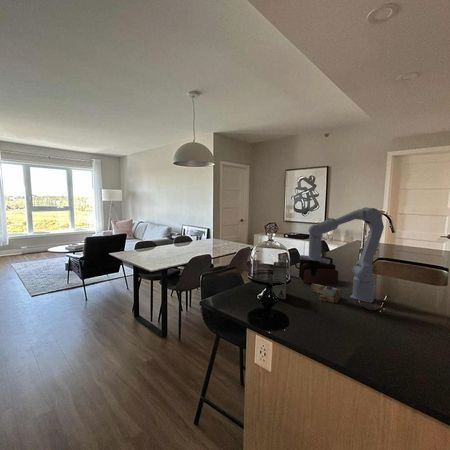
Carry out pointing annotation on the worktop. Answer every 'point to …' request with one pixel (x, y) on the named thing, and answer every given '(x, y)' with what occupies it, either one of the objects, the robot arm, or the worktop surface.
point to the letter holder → (318, 273)
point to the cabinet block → (329, 292)
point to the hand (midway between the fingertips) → (313, 275)
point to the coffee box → (280, 279)
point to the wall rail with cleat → (319, 289)
